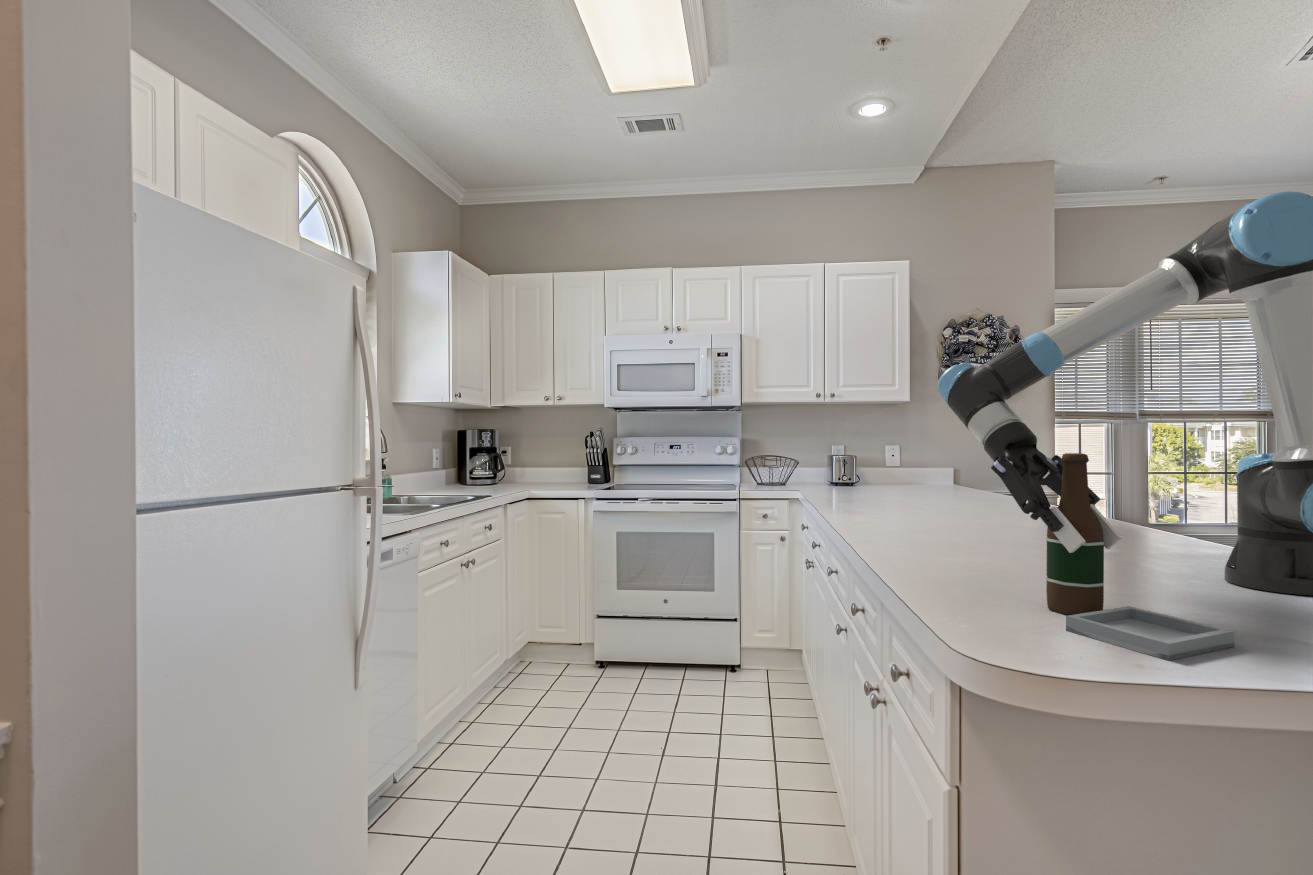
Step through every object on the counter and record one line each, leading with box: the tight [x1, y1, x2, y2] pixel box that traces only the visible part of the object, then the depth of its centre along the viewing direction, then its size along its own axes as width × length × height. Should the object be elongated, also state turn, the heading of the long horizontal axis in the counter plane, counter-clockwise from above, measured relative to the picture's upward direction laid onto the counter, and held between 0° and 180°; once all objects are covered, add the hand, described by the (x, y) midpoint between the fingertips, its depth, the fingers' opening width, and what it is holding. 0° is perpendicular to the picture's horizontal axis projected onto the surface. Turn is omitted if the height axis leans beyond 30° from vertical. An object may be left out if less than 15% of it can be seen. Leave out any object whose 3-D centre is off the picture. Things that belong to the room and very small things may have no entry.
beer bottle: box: [1045, 452, 1105, 616], centre depth 101 cm, size 8×8×24 cm
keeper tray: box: [1065, 606, 1235, 661], centre depth 88 cm, size 13×13×2 cm
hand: (1096, 545), depth 98 cm, fingers closed on beer bottle, 7 cm apart
